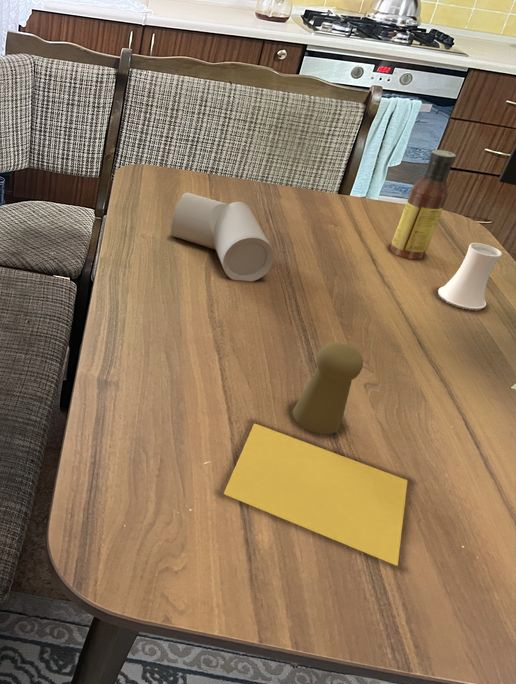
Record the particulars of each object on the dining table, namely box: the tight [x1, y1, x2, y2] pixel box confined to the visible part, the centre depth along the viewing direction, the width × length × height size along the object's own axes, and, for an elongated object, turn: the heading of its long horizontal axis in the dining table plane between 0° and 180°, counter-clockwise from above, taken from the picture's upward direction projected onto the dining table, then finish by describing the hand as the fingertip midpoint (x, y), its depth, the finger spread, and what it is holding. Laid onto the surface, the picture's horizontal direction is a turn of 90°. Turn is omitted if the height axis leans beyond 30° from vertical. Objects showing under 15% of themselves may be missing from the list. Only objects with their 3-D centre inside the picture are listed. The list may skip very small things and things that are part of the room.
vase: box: [437, 242, 503, 312], centre depth 115 cm, size 8×8×10 cm
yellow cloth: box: [223, 422, 408, 567], centre depth 77 cm, size 18×14×1 cm
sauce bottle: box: [390, 149, 457, 261], centre depth 127 cm, size 6×6×20 cm
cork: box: [292, 342, 364, 435], centre depth 84 cm, size 6×6×11 cm
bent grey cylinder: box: [170, 192, 275, 282], centre depth 121 cm, size 18×11×20 cm
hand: (510, 182), depth 89 cm, fingers closed
